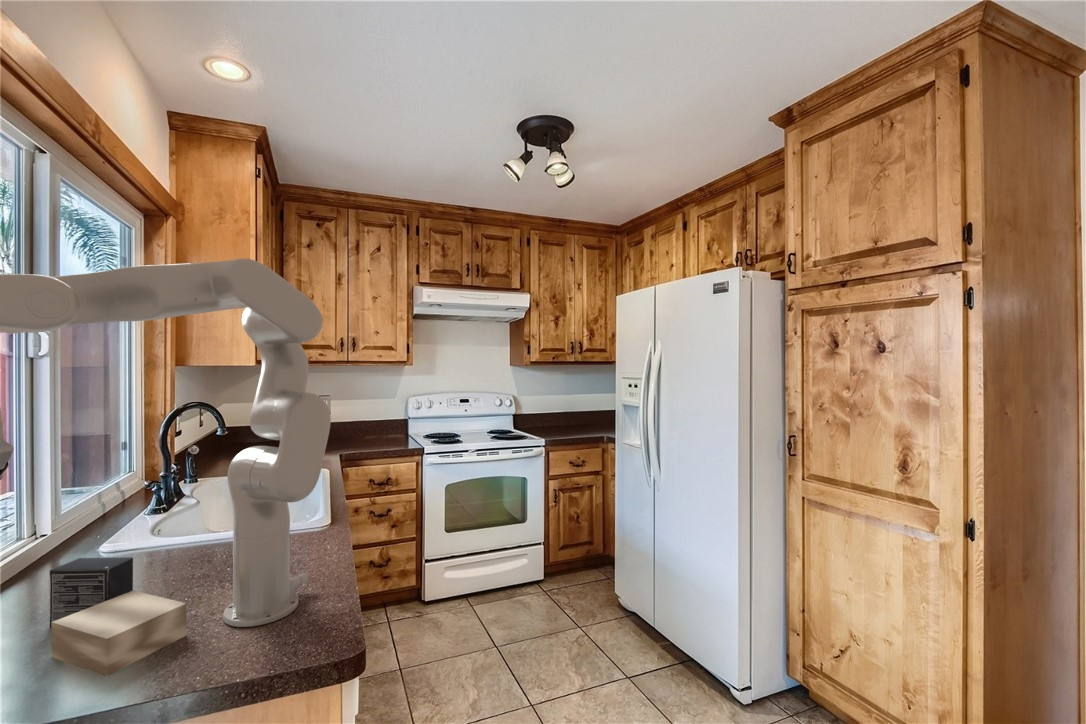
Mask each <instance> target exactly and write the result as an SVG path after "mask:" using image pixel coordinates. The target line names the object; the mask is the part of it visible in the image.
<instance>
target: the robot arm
mask: <svg viewBox="0 0 1086 724" xmlns="http://www.w3.org/2000/svg"><path fill="white" fill-rule="evenodd" d="M235 309H237V310H238V309H244V311H243V313H242V317H241V323H242V327H243V330H244V332H245V333H246V335H247V336H248V338H249V339H250V340H251V341H252V342H253V344H254V345H255V346H256V348H257V351H258V353H259V355H260V359H261V369H260V375H259V380H258V384H257V386H256V387H257V388H256V392H255V395H254V398H253V404H252V407H251V409H250V410H251V411H250V416H249V417H250V418H249V425H250V429H251V431H252V432H253V433H254V434H255V435H256V436H259V437H260V438H265V439H268V440H274V441H279V446H278V447H277V446H270V445H269V446H268V445H254V446H250V447H247V448H245V449H243V450H241V451H240V452H239V453H237V454H236V455H235V456H234V457H233V458H232V460H231V461H230V464H229V466H228V469H227V486H228V490H229V495H230V500H231V506H232V524H233V525H232V530H233V533H232V603H230V604H229V605H227V607H226V608H225V609H224V610H223V613H222V615H223V616H222V617H223V622H224V623H225V624H227V625H229V626H232V627H237V628H248V627H249V628H251V627H257V626H258V627H259V626H262V625H267V624H270V623H273V622H276V621H278V620H280V619H283V618H285V617H287V616H288V615H290V614H291V613H292V612H294V611H295V610H296V609H297V607H298V606H299V596H298V595H297V593H296V592H295V590H296V589H297V588H298V586H301V585H303V584H305V583H307V582H308V581H309V575H308V573H306V572H302V573H301V574H299V575H297V576H295V577H294V576H293V575H292V574H290V570H291V569H290V567H291V566H290V565H291V562H290V561H291V559H290V557H291V556H290V555H291V554H290V553H291V549H290V548H291V547H290V543H291V541H290V539H291V537H290V535H291V534H290V533H291V532H290V531H291V530H290V529H291V528H290V527H291V516H290V515H291V514H290V509H289V508H290V507H289V504H288V503H296V502H297V503H298V502H300V501H303V500H304V499H306V498H307V497H308V496H310V494H311V493H312V492H313V491H314V489H315V488H316V485H318V484H317V483H318V482H319V478H320V475H321V472H322V471H321V470H322V467H323V463H324V458H325V454H326V450H327V449H326V448H327V445H328V440H329V435H330V429H331V421H332V420H331V419H332V418H331V412H330V409H329V405H328V403H327V402H326V401H325V399H323V397H321V396H319V395H317V394H315V393H312V392H306V390H307V385H308V384H307V383H308V378H309V377H308V376H309V371H310V368H309V365H310V364H309V360H308V357H307V354H306V352H305V350H304V348H303V345H302V344H301V343H307V342H310V341H312V340H313V339H315V338H317V337H318V336H319V334H320V332H321V331H322V328H323V316H322V312H321V311H320V308H319V307H318V306H317V305H316V303H315V302H314V301H313V300H312V299H311V298H309V297H308V296H307V295H305V294H304V293H303V292H301V291H300V290H299V289H298V288H296V287H295V286H294V285H292V284H291V283H290V282H289V281H287V280H286V279H285V278H283V277H282V276H281V275H280V274H278V273H277V272H275V270H273V269H271V268H270V267H268V266H267V265H266V264H263V263H261V262H259V261H258V260H254V259H251V258H237V259H230V260H229V259H228V260H221V261H219V260H218V261H207V262H193V263H192V262H191V263H172V264H146V265H144V264H143V265H135V266H128V267H127V266H125V267H121V268H120V267H119V268H114V269H110V270H104V271H103V270H102V271H97V272H91V273H81V274H79V273H78V274H68V275H59V276H58V275H57V276H56V275H55V276H48V275H41V274H35V273H34V274H30V273H26V274H25V273H22V274H21V273H18V274H17V273H15V274H13V273H12V274H11V273H9V274H8V273H7V274H6V273H0V333H4V334H5V333H6V334H21V333H22V334H23V333H25V334H26V333H28V334H31V333H32V334H33V333H46V332H51V331H55V330H56V331H57V330H59V329H62V328H63V327H71V326H80V325H87V324H88V325H89V324H96V323H97V324H98V323H99V324H100V323H108V322H109V323H114V322H115V323H116V322H117V323H118V322H144V321H151V320H161V319H169V318H177V317H181V316H182V317H183V316H189V315H190V316H191V315H197V314H205V313H212V312H218V311H226V310H227V311H228V310H235ZM3 422H4V421H3V415H2V408H1V407H0V481H1V480H3V477H4V472H5V471H6V470H8V467H9V461H10V458H11V457H12V454H13V452H14V450H15V449H14V446H13V445H12V444H11V443H9V442H8V441H6V440H5V436H4V435H5V434H4V433H5V431H4V423H3Z"/></svg>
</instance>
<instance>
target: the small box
mask: <svg viewBox="0 0 1086 724" xmlns="http://www.w3.org/2000/svg"><path fill="white" fill-rule="evenodd" d="M49 580H50V583H49V585H50V591H49V594H50V595H49V597H50V598H49V601H50V602H49V628H51V622H53V621H56V620H59V619H61V618H64V617H66V616H69V615H71V614H74V613H77V612H79V611H82V610H84V609H87V608H89V607H92V606H95V605H97V604H100V603H102V602H105V601H107V600H110V599H113V598H115V597H118V596H120V595H123V594H126V593H128V592H131V591H133V590H134V557H132V556H131V557H130V556H129V557H127V556H126V557H123V556H122V557H80V558H77V559H74V560H72V561H69V562H67V563H64V564H61V565H59V566H57V567H53V568H52V569H50V570H49Z"/></svg>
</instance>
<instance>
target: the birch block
mask: <svg viewBox="0 0 1086 724" xmlns="http://www.w3.org/2000/svg"><path fill="white" fill-rule="evenodd" d="M186 636H187V603H186V602H183V601H179V600H174V599H170V598H166V597H163V596H157V595H153V594H150V593H146V592H141V591H137V590H134V589H133V591H131V592H128V593H126V594H123V595H120V596H118V597H115V598H113V599H110V600H107V601H105V602H102V603H100V604H97V605H95V606H92V607H89V608H87V609H84V610H82V611H79V612H77V613H74V614H71V615H69V616H66V617H64V618H61V619H59V620H56V621H53V622H51V639H50V640H51V642H50V643H51V644H50V645H51V648H50V649H51V650H50V651H51V659H52V658H53V659H55V660H58V661H61V662H64V663H67V664H70V665H73V666H76V667H79V668H81V667H82V669H84V668H85V670H87V669H89V670H88V671H90V670H92V671H91V672H93V671H94V672H93V673H96V672H97V673H96V674H99V675H102V676H105V675H106V677H108V676H110V675H113V674H114V673H117V672H118V671H120V670H122V669H124V668H125V667H128V666H130V665H132V664H133V663H135V662H138V661H140V660H141V659H143V658H145V657H147V656H149V655H151V654H153V653H155V652H157V651H159V650H161V649H163V648H165V647H167V646H169V645H170V643H171V644H172V643H175V642H176V641H178V640H181V639H182V638H185V637H186ZM107 675H108V676H107Z"/></svg>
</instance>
